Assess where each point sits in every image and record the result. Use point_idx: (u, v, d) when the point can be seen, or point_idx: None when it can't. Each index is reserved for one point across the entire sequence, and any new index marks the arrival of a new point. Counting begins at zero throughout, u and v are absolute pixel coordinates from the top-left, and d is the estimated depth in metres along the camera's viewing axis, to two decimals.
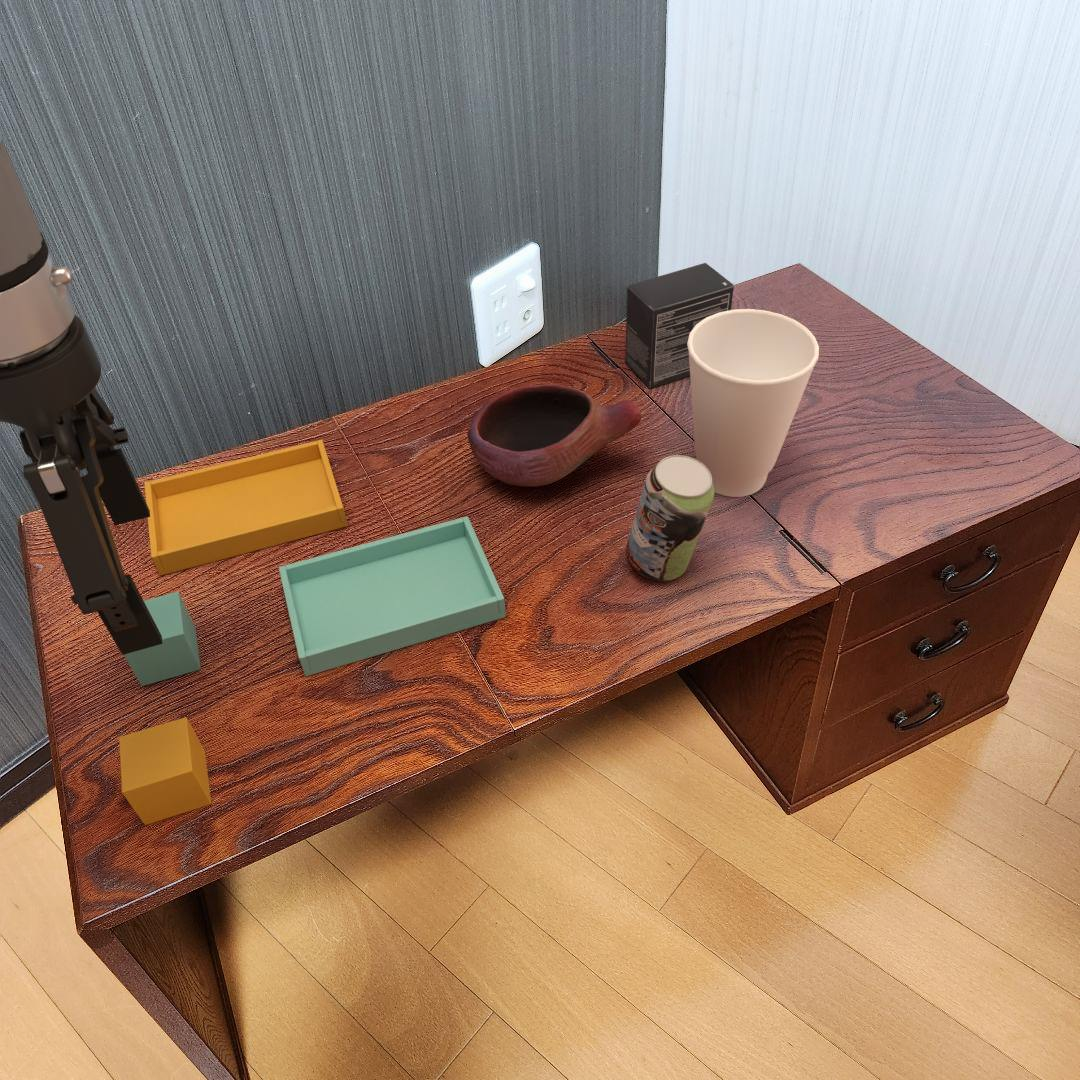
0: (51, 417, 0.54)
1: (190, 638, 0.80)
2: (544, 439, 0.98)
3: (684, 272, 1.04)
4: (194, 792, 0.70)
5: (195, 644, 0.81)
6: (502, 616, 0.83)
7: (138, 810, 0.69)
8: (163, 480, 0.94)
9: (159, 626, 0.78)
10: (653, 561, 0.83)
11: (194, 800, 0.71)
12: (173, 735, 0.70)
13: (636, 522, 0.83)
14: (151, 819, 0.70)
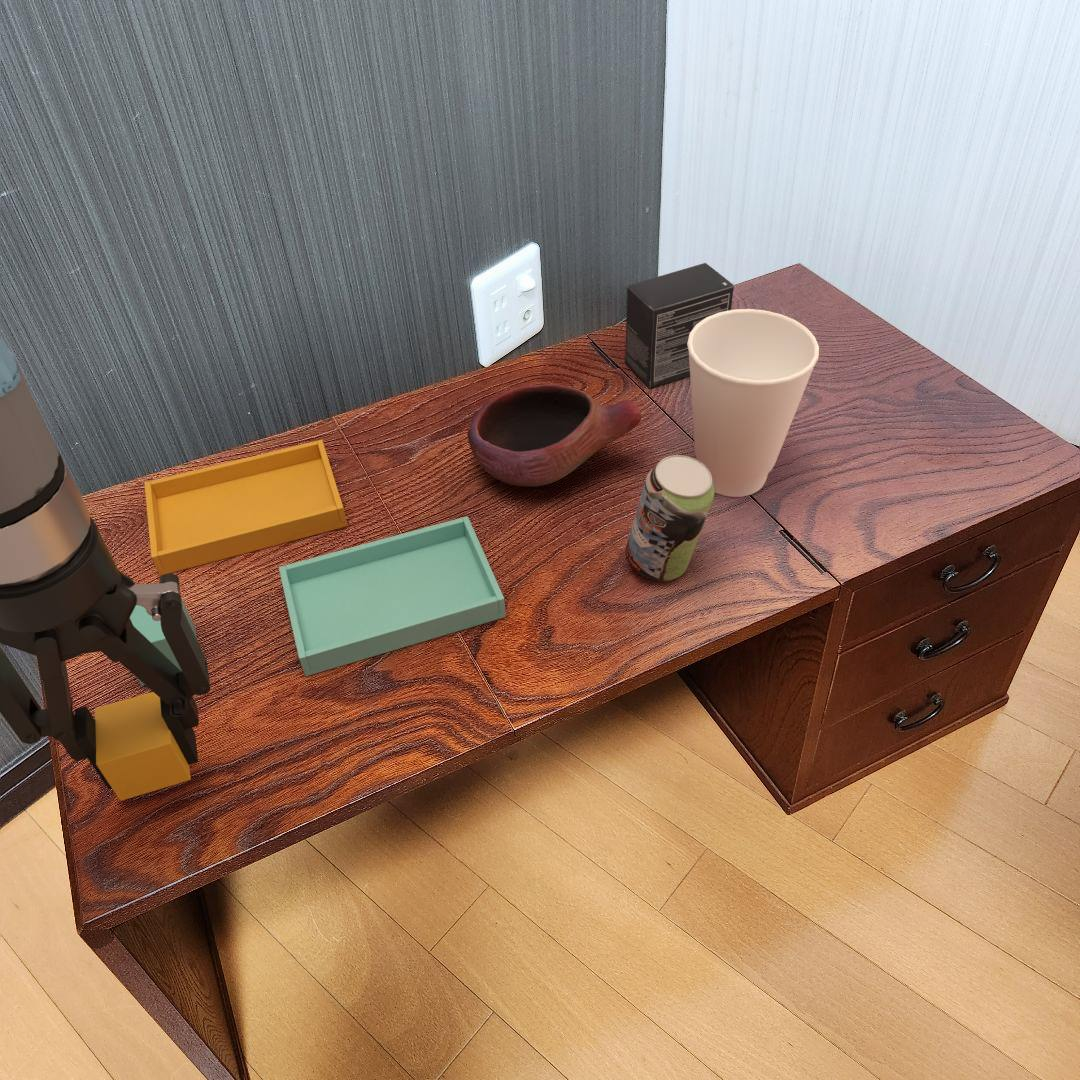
0: (113, 561, 0.57)
1: None
2: (544, 439, 0.98)
3: (684, 272, 1.04)
4: (172, 766, 0.67)
5: None
6: (502, 616, 0.83)
7: (113, 784, 0.66)
8: (163, 480, 0.94)
9: (159, 626, 0.78)
10: (653, 561, 0.83)
11: (172, 775, 0.67)
12: (151, 707, 0.67)
13: (636, 522, 0.83)
14: (126, 794, 0.67)
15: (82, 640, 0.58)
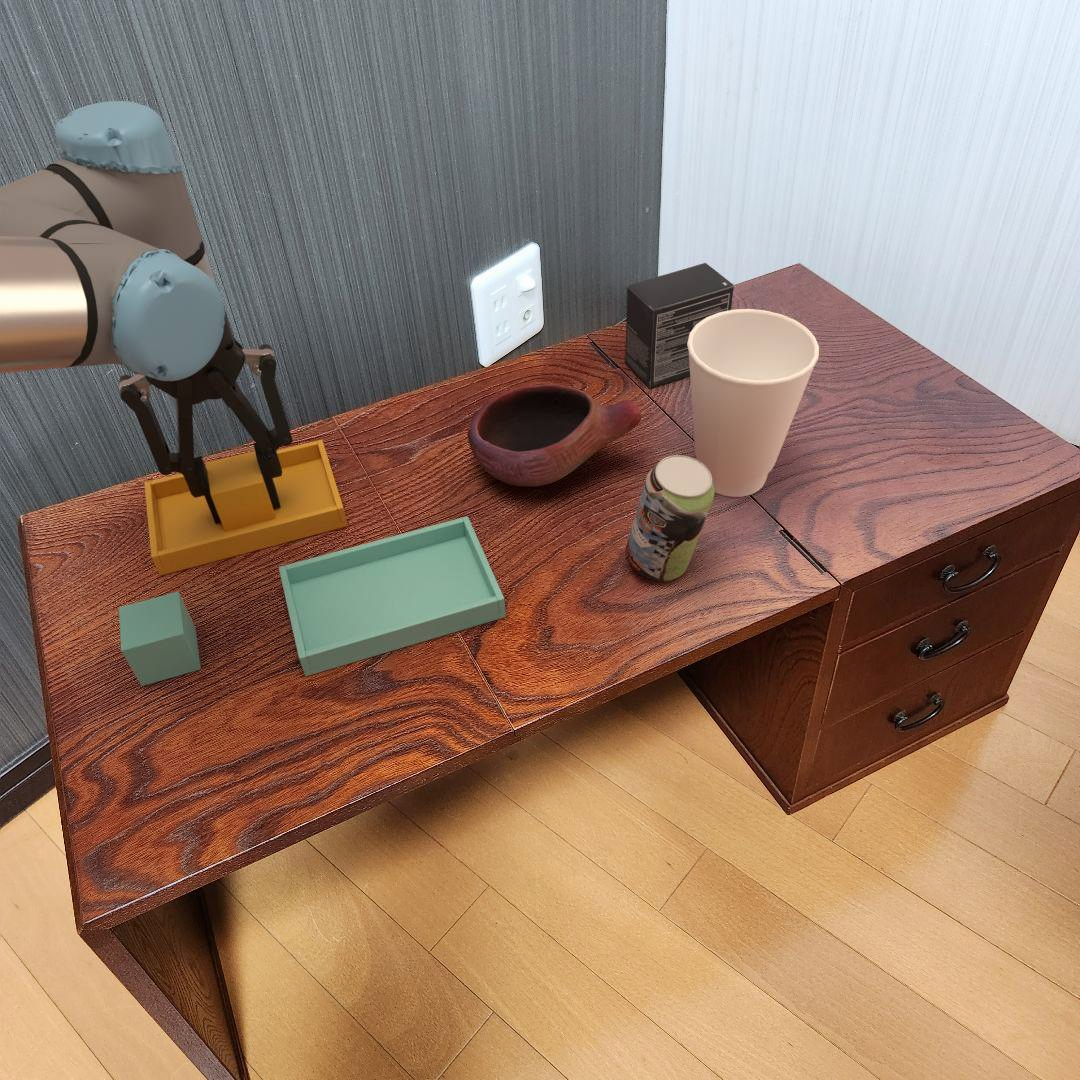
0: None
1: (190, 638, 0.80)
2: (544, 439, 0.98)
3: (684, 272, 1.04)
4: (263, 504, 0.91)
5: (195, 644, 0.81)
6: (502, 616, 0.83)
7: (221, 515, 0.90)
8: (163, 480, 0.94)
9: (159, 626, 0.78)
10: (653, 561, 0.83)
11: (263, 512, 0.92)
12: (247, 461, 0.91)
13: (636, 522, 0.83)
14: (230, 526, 0.91)
15: (207, 387, 0.82)
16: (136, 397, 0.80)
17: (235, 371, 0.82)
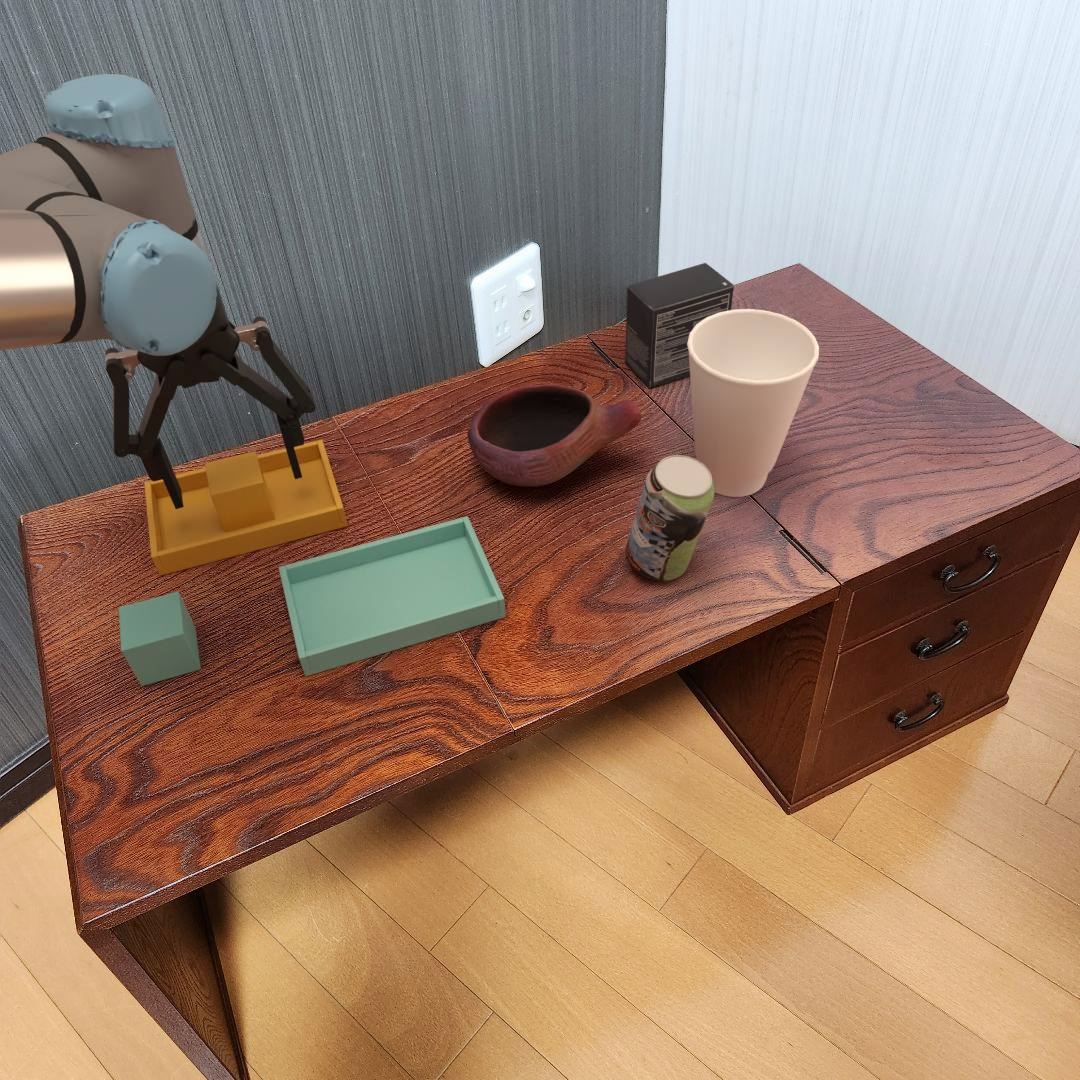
0: None
1: (190, 638, 0.80)
2: (544, 439, 0.98)
3: (684, 272, 1.04)
4: (263, 504, 0.91)
5: (195, 644, 0.81)
6: (502, 616, 0.83)
7: (221, 515, 0.90)
8: None
9: (159, 626, 0.78)
10: (653, 561, 0.83)
11: (262, 512, 0.92)
12: (246, 462, 0.91)
13: (636, 522, 0.83)
14: (229, 527, 0.91)
15: (201, 370, 0.80)
16: (121, 372, 0.78)
17: (229, 353, 0.80)
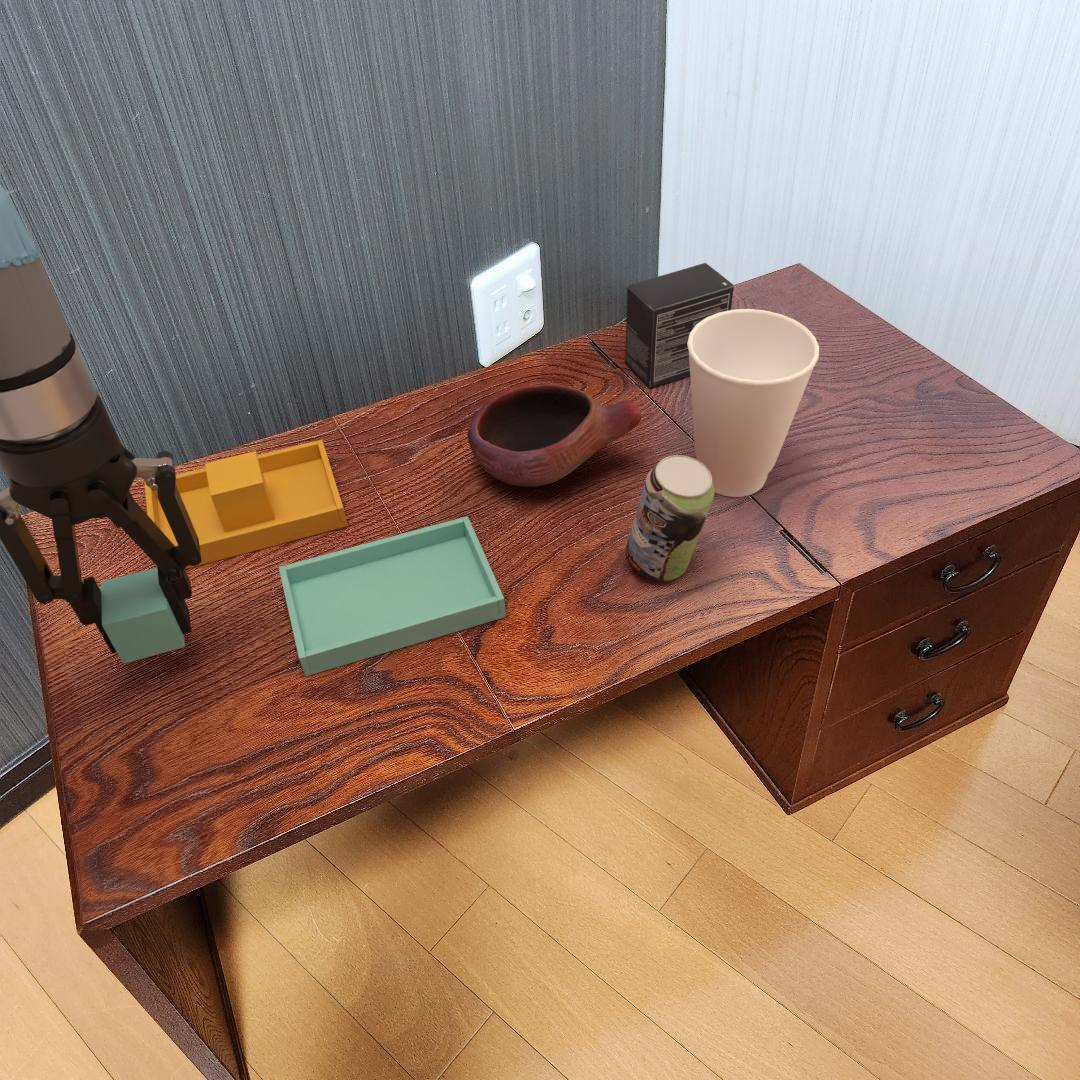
0: None
1: None
2: (544, 439, 0.98)
3: (684, 272, 1.04)
4: (263, 504, 0.91)
5: None
6: (502, 616, 0.83)
7: (221, 515, 0.90)
8: None
9: (142, 601, 0.75)
10: (653, 561, 0.83)
11: (262, 512, 0.92)
12: (246, 462, 0.91)
13: (636, 522, 0.83)
14: (229, 527, 0.91)
15: (90, 505, 0.67)
16: None
17: (124, 486, 0.67)
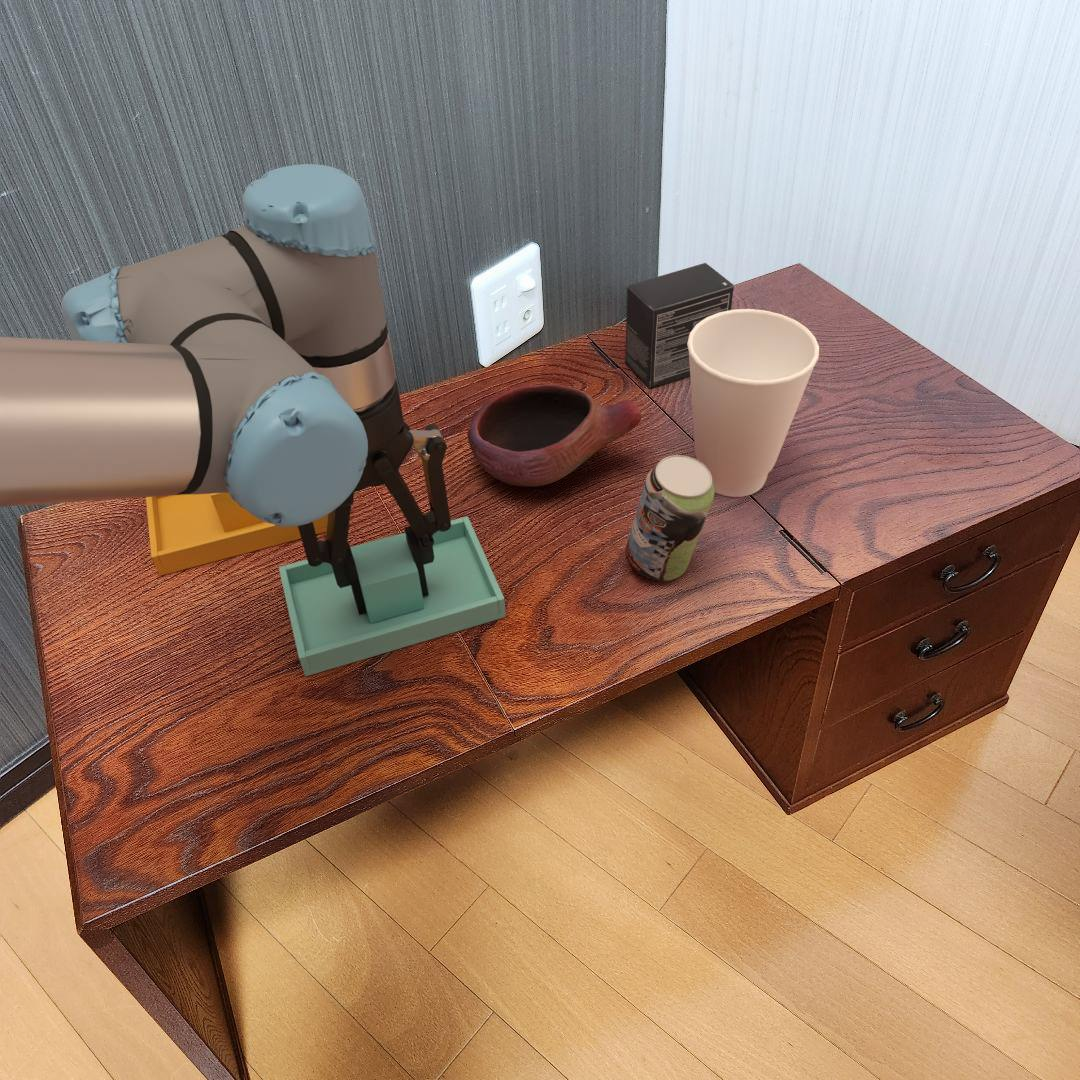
0: None
1: None
2: (544, 439, 0.98)
3: (684, 272, 1.04)
4: None
5: None
6: (502, 616, 0.83)
7: (221, 515, 0.90)
8: None
9: (393, 564, 0.81)
10: (653, 561, 0.83)
11: None
12: None
13: (636, 522, 0.83)
14: (229, 527, 0.91)
15: (370, 474, 0.73)
16: None
17: (402, 456, 0.73)
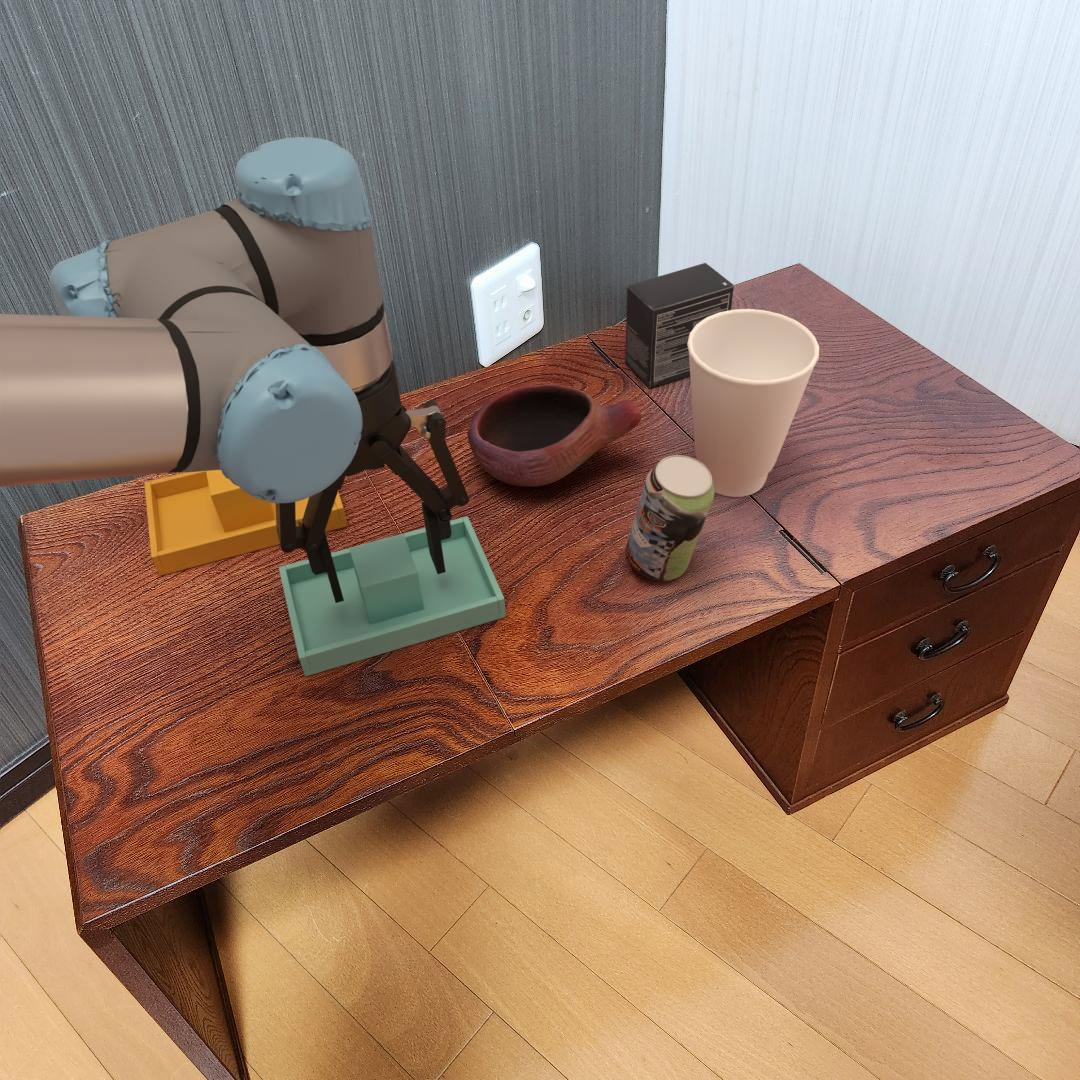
0: None
1: None
2: (544, 439, 0.98)
3: (684, 272, 1.04)
4: (263, 504, 0.91)
5: None
6: (502, 616, 0.83)
7: (221, 515, 0.90)
8: (163, 480, 0.94)
9: (392, 566, 0.81)
10: (653, 561, 0.83)
11: (262, 512, 0.92)
12: None
13: (636, 522, 0.83)
14: (229, 527, 0.91)
15: (367, 457, 0.72)
16: None
17: (400, 439, 0.72)
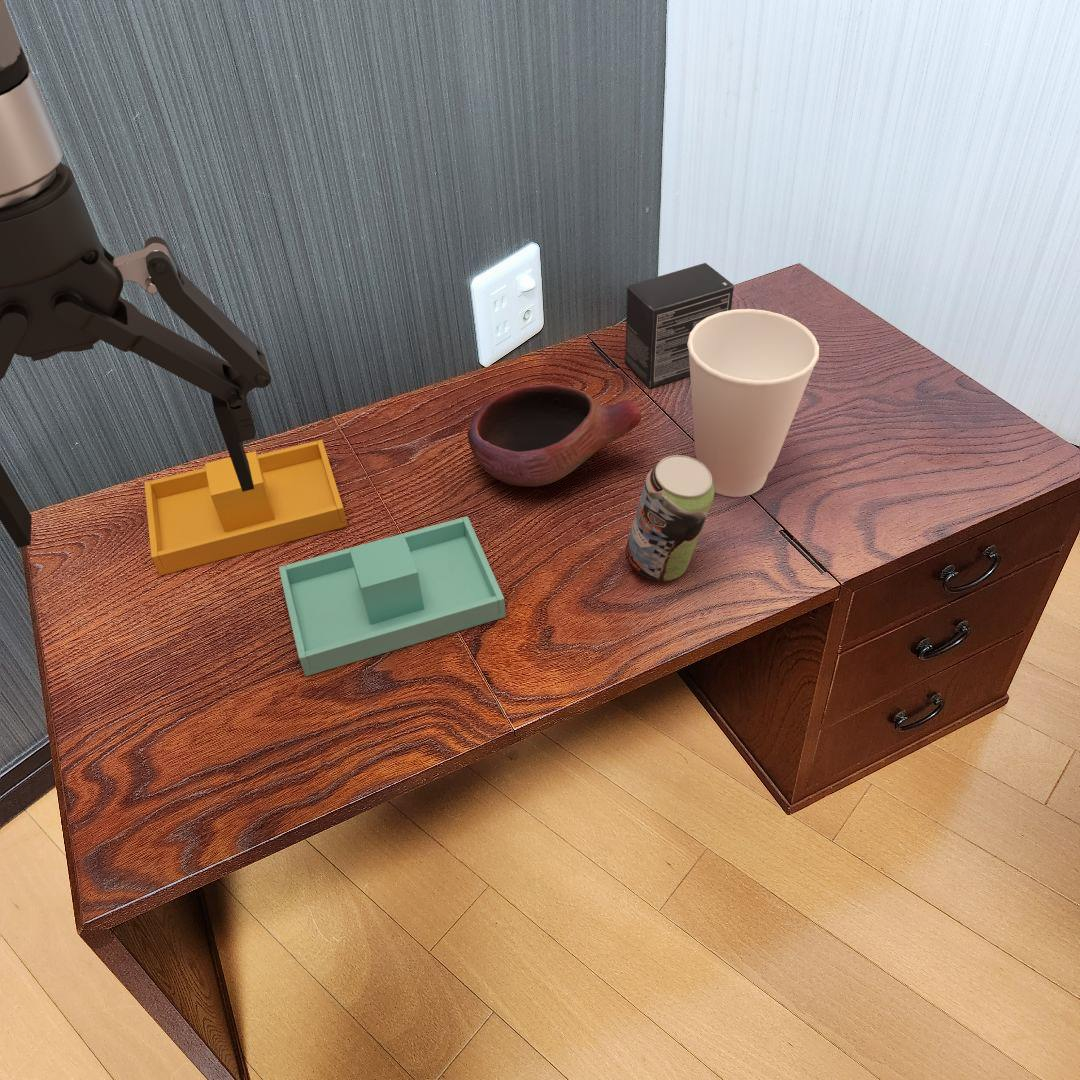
0: (94, 229, 0.48)
1: None
2: (544, 439, 0.98)
3: (684, 272, 1.04)
4: (263, 504, 0.91)
5: None
6: (502, 616, 0.83)
7: (221, 515, 0.90)
8: (163, 480, 0.94)
9: (392, 566, 0.81)
10: (653, 561, 0.83)
11: (262, 512, 0.92)
12: None
13: (636, 522, 0.83)
14: (229, 527, 0.91)
15: (59, 330, 0.49)
16: None
17: (106, 303, 0.49)
